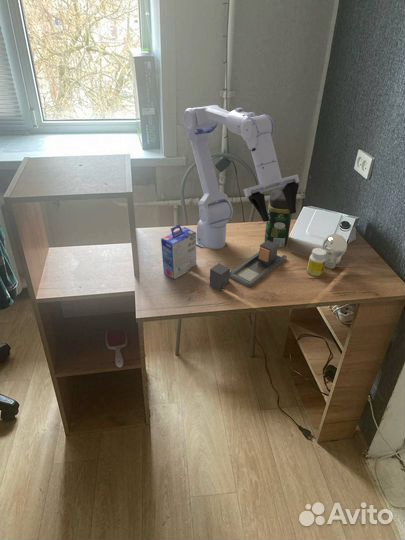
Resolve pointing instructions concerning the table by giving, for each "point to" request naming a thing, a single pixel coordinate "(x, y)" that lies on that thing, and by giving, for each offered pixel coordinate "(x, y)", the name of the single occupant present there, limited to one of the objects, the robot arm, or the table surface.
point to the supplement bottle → (316, 262)
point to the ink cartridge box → (178, 251)
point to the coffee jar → (278, 219)
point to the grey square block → (219, 276)
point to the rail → (253, 270)
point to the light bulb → (334, 249)
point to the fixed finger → (268, 252)
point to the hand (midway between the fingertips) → (279, 217)
